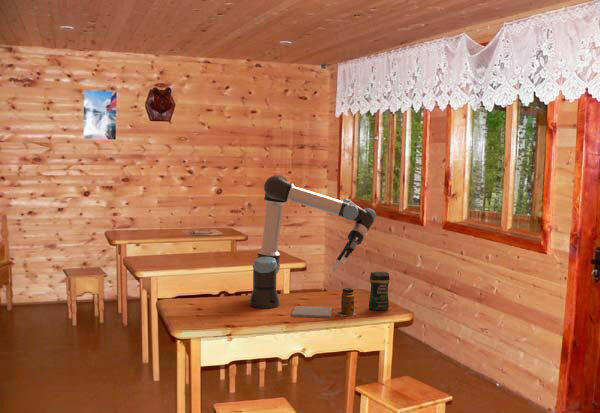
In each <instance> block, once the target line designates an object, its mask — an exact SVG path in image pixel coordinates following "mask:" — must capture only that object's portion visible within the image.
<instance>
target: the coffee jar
mask: <svg viewBox="0 0 600 413" xmlns="http://www.w3.org/2000/svg"><path fill="white" fill-rule="evenodd" d="M390 279H391V278H390V273H389V272H387V271H371V272H370V276H369V282H370V294H369V299H368V308H369V309H370V310H373V311H386V310H389V305H390V302H389V283H390Z"/></svg>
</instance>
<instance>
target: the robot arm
mask: <svg viewBox="0 0 600 413" xmlns="http://www.w3.org/2000/svg"><path fill="white" fill-rule="evenodd" d="M263 191H264V202H265V204H266V206H265V207H266V208H265V216H264V224H263V232H262V242H261V249H260V250H258V252H257V258H254V260H253V263H252V268H253V269H252V270H253V272H252V273H253V274H252V275H253V276H252V292H251V295H250V297H249V306H250V307H252V308H256V309H257V308H258V309H273V308H277V307H279V306H280V302H281V301H280V297H279V294H278V291H277V276H278V273H279V271H280V269H281V266H280V260H281V252H279V246H280V245H279V243H280V236H281V228H282V218H283V213H284V212H283V210H284V205H285V204H287V203H288V202H293V203H297V204H299V205H302V206H306V207H308V208H313V209H316V210H319V211H322V212H325V213H329V214H331V215H335V216H339V217H341V218H345V219H346V220H347V221H353V222H354V225H353V226H352V227H351V231H350V232H349V233H348V235H347V240H348V241H347V242H346V244H345V246H344V248H343V249H342V251H341V252H340V254H339V255H338V257H337V258H336V260H335V261H334V263H333V265H332V266H331V268H330V271H332V272H333V273H337V271H338V269H339V268H340V266H341V265H345V264H346V263H347V261H348V259H349V258H350V256H351V254H352V253H353V252H354V250H355V248H356V246H359V245H361V244H362V242H363V241H364V238H365V237H366V236H368V233H369V231H370V229H371V227H372V225H373V224H374V222H375V220H376V218H377V213H376V211H375V210H373V209H372V208H370V207H365V208H364V209H363V208H361V207H360V206H359V205H357V204H356V203H354V202H353V201H352V200H350V199H348V198H347V197H344V198H343V199H342V200H339V199H338V198H337V199H336V198H332V197H330V196H327V195H324V194H321V193H317V192H315V191H311V190H307V189H304V188H302V187H298V186H296V185H294V183H293V182H292V183H291V182H289V181H288V179H287V178H286V177H285V176H284V175H280V174H274V175H272V176H270V177H268V178H267V179H266V180H265V181H264V184H263Z"/></svg>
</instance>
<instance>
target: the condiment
mask: <svg viewBox="0 0 600 413" xmlns="http://www.w3.org/2000/svg"><path fill="white" fill-rule="evenodd" d="M354 291H355V290H354V288H349V287H345V288H343V289H342V292H341V293H342V294H341V304H340V305H341V306H340V307H341V308H340V311H337V312H334V314H336V315H338V316H341V317H346V316H347V317H348V316H355V315H357V313H356V312H355V310H354V309H355V308H354V307H355V294H354Z"/></svg>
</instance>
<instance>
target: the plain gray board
mask: <svg viewBox="0 0 600 413" xmlns="http://www.w3.org/2000/svg"><path fill="white" fill-rule="evenodd" d="M332 311H333V307H332V306H331V307H328V306H327V307H326V306H307V305H306V306H303V305H300V306H299V305H295V306H294V308H293V311H292V312H291V317H299V318H301V317H302V318H303V317H304V318H322V319H323V318H324V319H326V318H328V319H330V318H331V315H332Z"/></svg>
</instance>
